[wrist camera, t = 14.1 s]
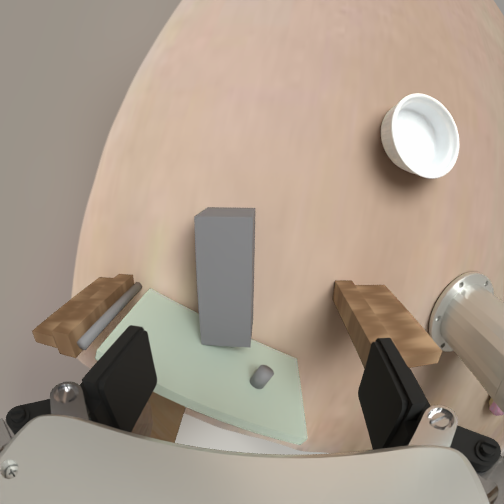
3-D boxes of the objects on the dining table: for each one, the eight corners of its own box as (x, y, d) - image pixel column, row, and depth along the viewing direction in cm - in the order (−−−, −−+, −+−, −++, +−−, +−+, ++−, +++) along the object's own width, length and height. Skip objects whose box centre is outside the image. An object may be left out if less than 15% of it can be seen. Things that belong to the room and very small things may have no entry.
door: (305, 347, 33) (320, 427, 21) (291, 364, 34) (300, 445, 22) (141, 266, 31) (80, 320, 19) (133, 287, 32) (76, 346, 20)
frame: (385, 280, 31) (444, 344, 18) (382, 298, 32) (435, 368, 18) (99, 272, 32) (30, 325, 19) (102, 290, 33) (38, 347, 20)
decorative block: (120, 361, 36) (57, 462, 17) (149, 355, 36) (88, 469, 16) (158, 411, 39) (120, 510, 20) (187, 408, 38) (155, 516, 19)
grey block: (255, 207, 30) (252, 217, 24) (253, 318, 33) (250, 347, 27) (208, 207, 30) (194, 216, 24) (211, 316, 33) (201, 344, 28)
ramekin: (393, 86, 25) (410, 76, 20) (448, 131, 25) (469, 129, 21) (362, 147, 27) (377, 145, 23) (421, 191, 28) (441, 195, 24)
